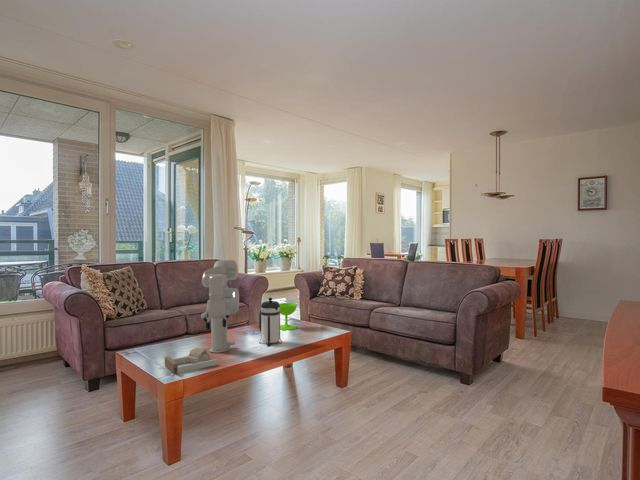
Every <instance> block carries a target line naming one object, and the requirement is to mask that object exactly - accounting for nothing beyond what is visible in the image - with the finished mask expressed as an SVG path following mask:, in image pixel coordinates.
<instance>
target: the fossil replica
mask: <svg viewBox="0 0 640 480" xmlns="http://www.w3.org/2000/svg"><path fill="white" fill-rule="evenodd" d="M188 360H189V361H190V363H191V364H194V363H199V362H204V361H209V360H211V355H210V353H209V352H208V350H207V349H205V348H201V347H200V348H199V347H195V348H193V349H191V350H189V354H188Z"/></svg>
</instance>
